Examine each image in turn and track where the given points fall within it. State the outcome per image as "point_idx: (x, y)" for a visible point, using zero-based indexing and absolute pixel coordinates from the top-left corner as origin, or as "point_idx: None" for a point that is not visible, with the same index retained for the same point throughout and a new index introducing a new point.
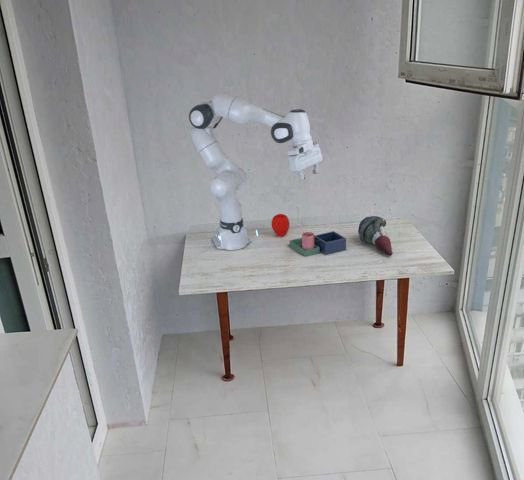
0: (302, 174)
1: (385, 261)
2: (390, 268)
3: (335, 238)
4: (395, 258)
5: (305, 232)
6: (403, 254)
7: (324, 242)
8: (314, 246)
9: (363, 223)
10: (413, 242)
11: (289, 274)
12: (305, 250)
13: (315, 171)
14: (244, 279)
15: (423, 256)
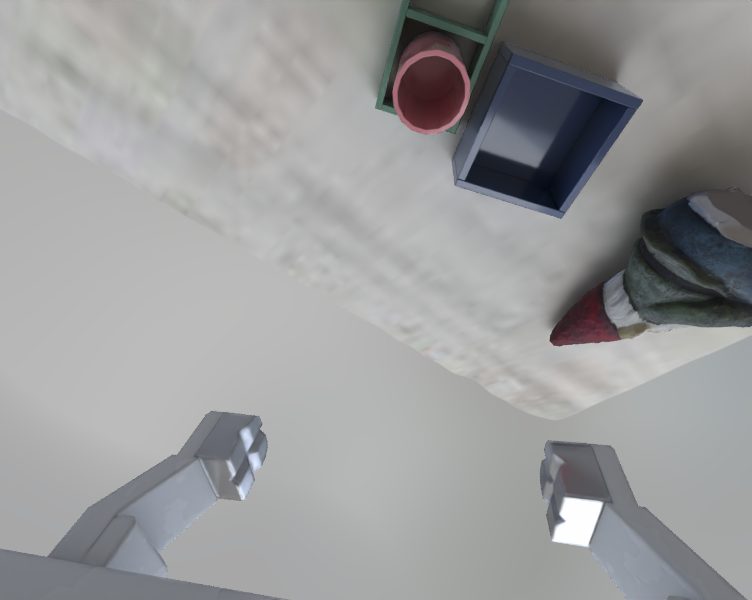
0: (185, 521)
1: (518, 331)
2: (478, 356)
3: (600, 123)
4: None
5: (445, 55)
6: None
7: (459, 173)
8: None
9: (687, 266)
10: None
11: (218, 180)
12: (380, 106)
13: (549, 519)
14: (29, 75)
15: (607, 377)
